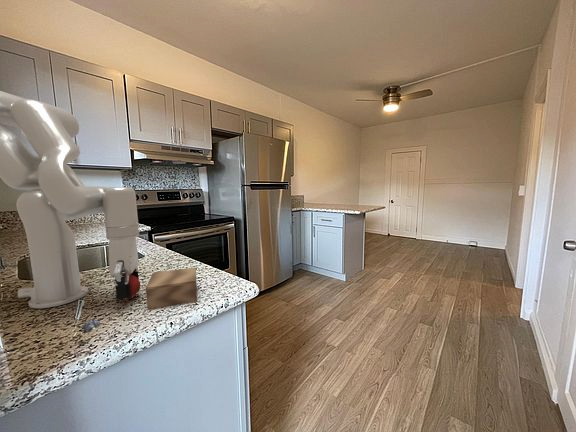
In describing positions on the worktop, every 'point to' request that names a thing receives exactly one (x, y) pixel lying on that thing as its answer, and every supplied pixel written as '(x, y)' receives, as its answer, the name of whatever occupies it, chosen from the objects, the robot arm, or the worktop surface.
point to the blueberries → (90, 325)
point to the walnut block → (171, 288)
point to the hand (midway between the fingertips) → (128, 291)
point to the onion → (133, 285)
